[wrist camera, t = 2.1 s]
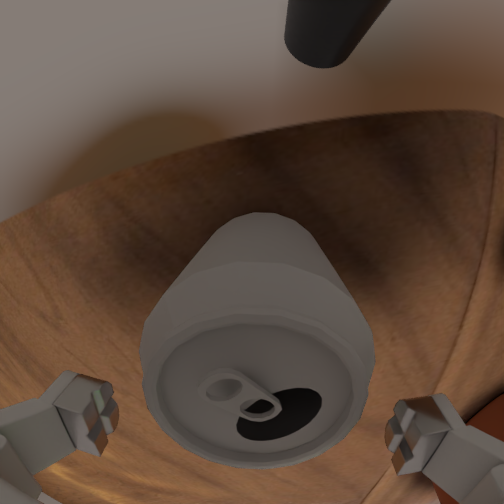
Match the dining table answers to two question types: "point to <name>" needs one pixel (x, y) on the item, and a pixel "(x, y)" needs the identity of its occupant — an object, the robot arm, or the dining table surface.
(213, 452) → the can
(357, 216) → the dining table surface
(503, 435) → the potted cactus
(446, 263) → the dining table surface
